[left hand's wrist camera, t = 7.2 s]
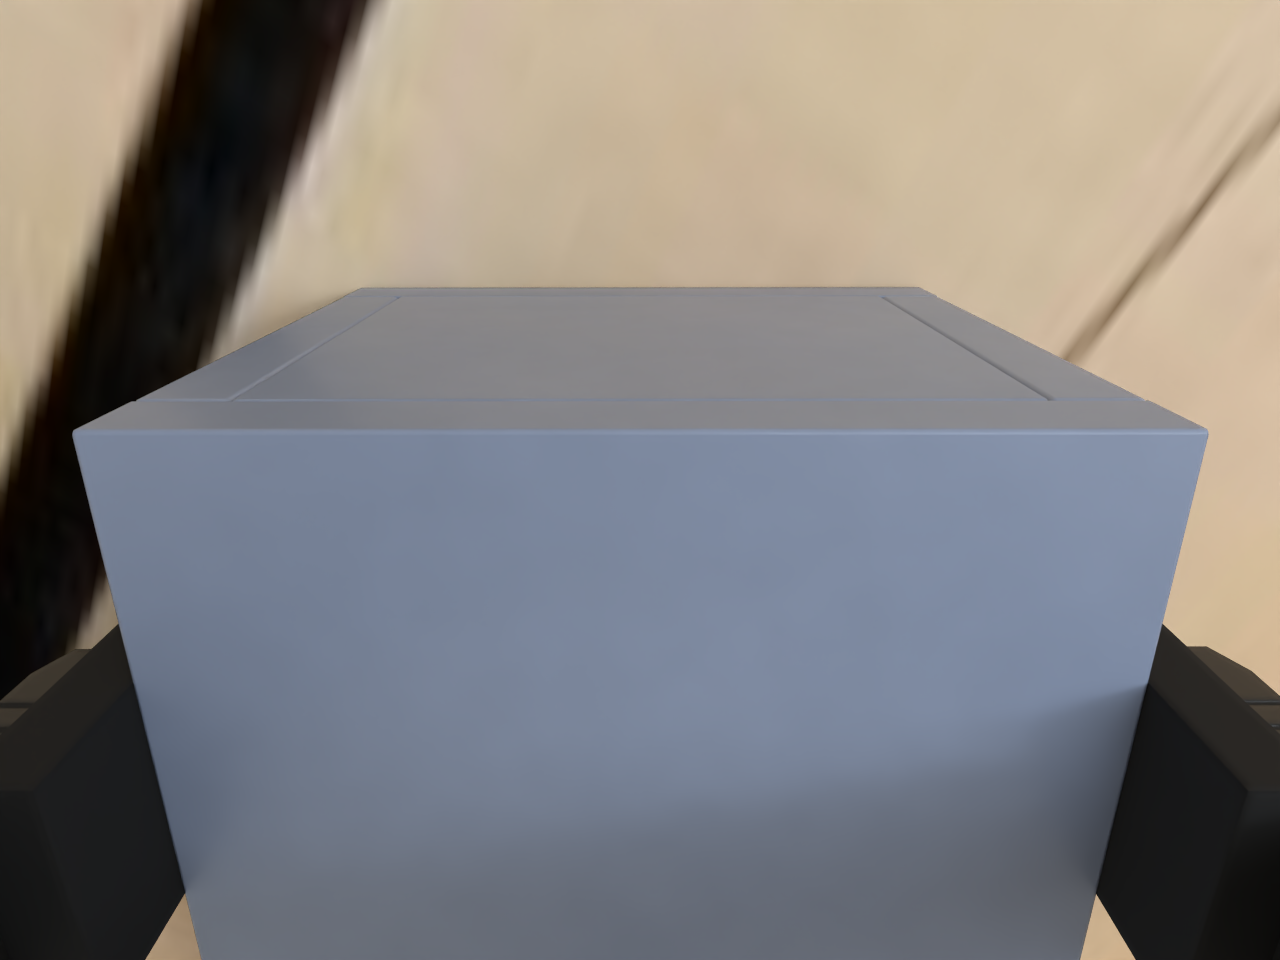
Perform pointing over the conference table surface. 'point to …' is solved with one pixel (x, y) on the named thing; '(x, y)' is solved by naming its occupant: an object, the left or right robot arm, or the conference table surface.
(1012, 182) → the conference table surface
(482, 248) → the conference table surface
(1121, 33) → the conference table surface
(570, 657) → the cabinet
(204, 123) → the conference table surface
